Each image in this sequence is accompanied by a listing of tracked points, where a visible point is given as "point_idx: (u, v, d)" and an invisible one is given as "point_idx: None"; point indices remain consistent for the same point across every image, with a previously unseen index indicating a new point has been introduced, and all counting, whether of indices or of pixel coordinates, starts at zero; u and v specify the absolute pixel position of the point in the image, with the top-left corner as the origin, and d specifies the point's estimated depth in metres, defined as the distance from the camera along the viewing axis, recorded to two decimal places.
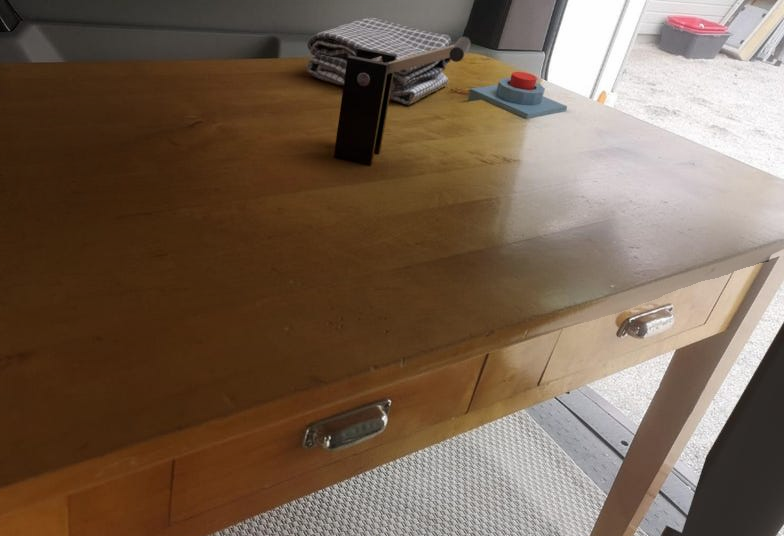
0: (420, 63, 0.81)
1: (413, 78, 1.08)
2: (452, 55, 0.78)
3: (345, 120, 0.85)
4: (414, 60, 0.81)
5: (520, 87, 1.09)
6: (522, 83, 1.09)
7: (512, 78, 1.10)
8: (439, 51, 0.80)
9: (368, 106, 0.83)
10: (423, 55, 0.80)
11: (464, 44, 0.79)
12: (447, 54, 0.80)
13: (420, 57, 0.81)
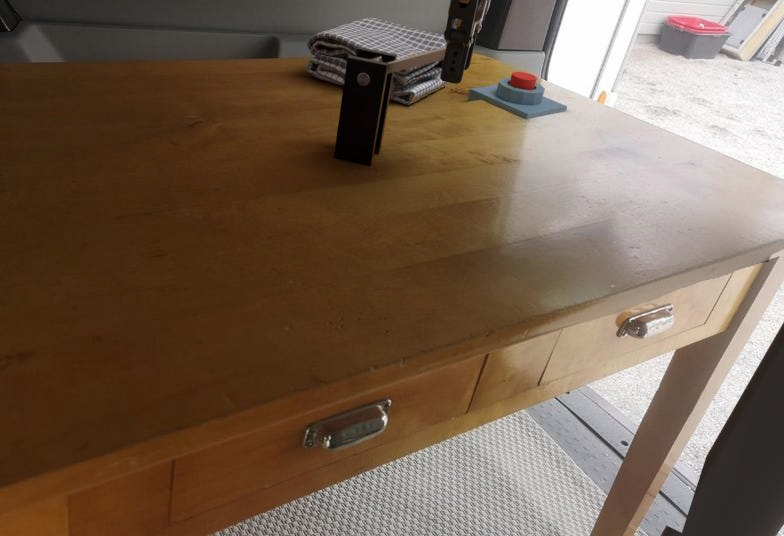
0: (420, 63, 0.81)
1: (413, 78, 1.08)
2: None
3: (345, 120, 0.85)
4: (414, 60, 0.81)
5: (520, 87, 1.09)
6: (522, 83, 1.09)
7: (512, 78, 1.10)
8: (439, 51, 0.80)
9: (368, 106, 0.83)
10: (423, 55, 0.80)
11: None
12: None
13: (420, 57, 0.81)
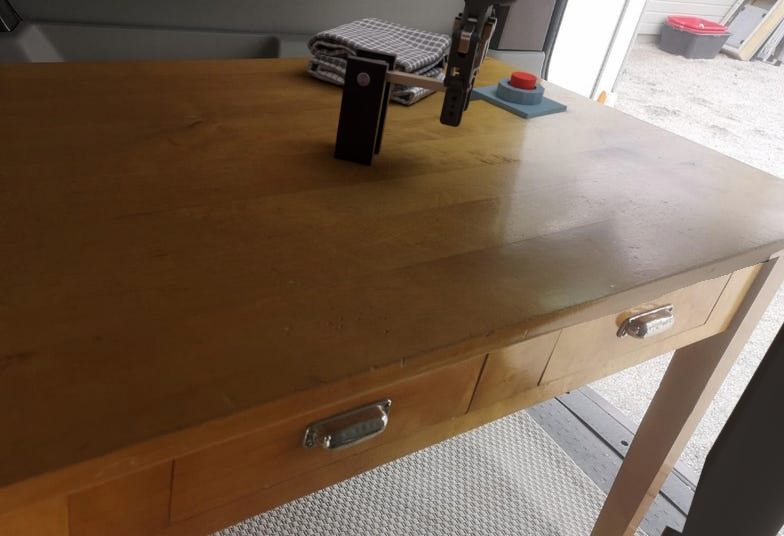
0: (419, 86, 0.82)
1: None
2: None
3: (345, 120, 0.85)
4: (416, 81, 0.82)
5: (520, 87, 1.09)
6: (522, 83, 1.09)
7: (512, 78, 1.10)
8: (441, 83, 0.81)
9: (368, 106, 0.83)
10: (425, 80, 0.82)
11: None
12: None
13: (422, 80, 0.82)
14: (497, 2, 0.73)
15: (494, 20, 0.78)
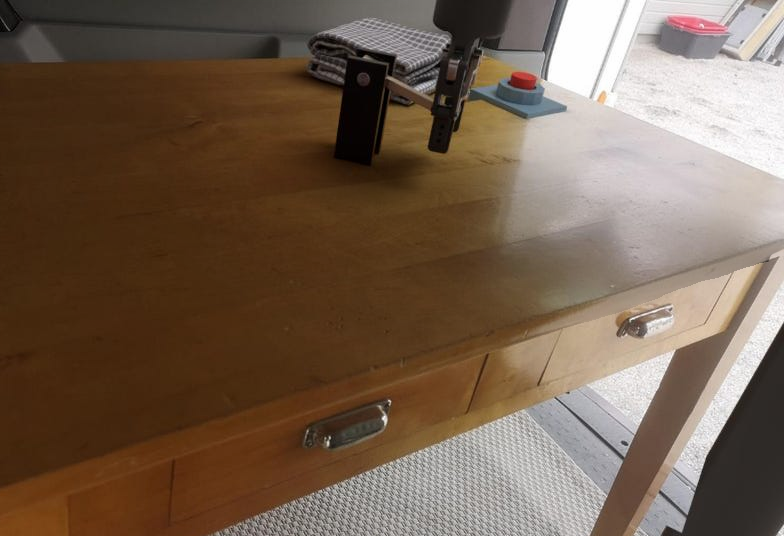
0: (414, 100, 0.83)
1: (413, 78, 1.08)
2: None
3: (345, 120, 0.85)
4: (411, 95, 0.83)
5: (520, 87, 1.09)
6: (522, 83, 1.09)
7: (512, 78, 1.10)
8: None
9: (368, 106, 0.83)
10: (421, 96, 0.83)
11: None
12: None
13: (418, 96, 0.83)
14: (483, 36, 0.75)
15: (481, 52, 0.80)
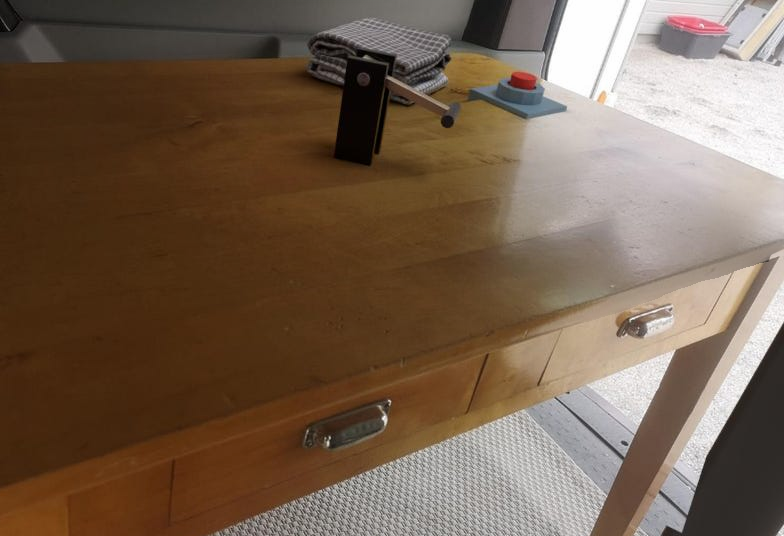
0: (414, 100, 0.83)
1: (413, 78, 1.08)
2: (443, 119, 0.81)
3: (345, 120, 0.85)
4: (411, 95, 0.83)
5: (520, 87, 1.09)
6: (522, 83, 1.09)
7: (512, 78, 1.10)
8: (435, 104, 0.83)
9: (368, 106, 0.83)
10: (421, 96, 0.83)
11: (457, 115, 0.83)
12: (439, 111, 0.83)
13: (418, 96, 0.83)
14: None
15: None
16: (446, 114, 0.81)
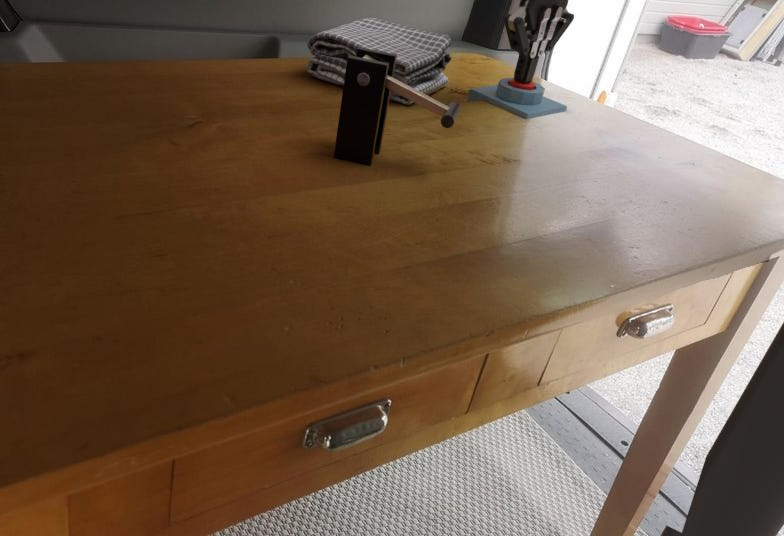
0: (414, 100, 0.83)
1: (413, 78, 1.08)
2: (443, 119, 0.81)
3: (345, 120, 0.85)
4: (411, 95, 0.83)
5: None
6: None
7: (510, 84, 1.10)
8: (435, 104, 0.83)
9: (368, 106, 0.83)
10: (421, 96, 0.83)
11: (457, 115, 0.83)
12: (439, 111, 0.83)
13: (418, 96, 0.83)
14: None
15: (559, 6, 1.04)
16: (446, 114, 0.81)
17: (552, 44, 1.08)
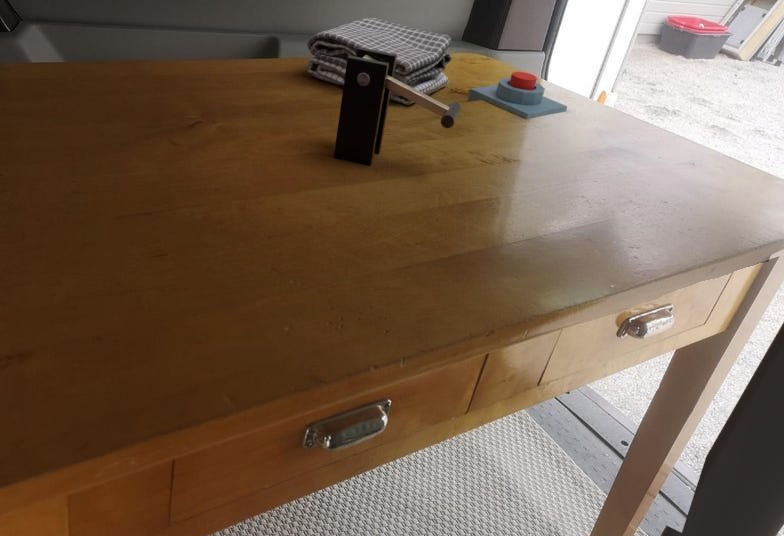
0: (414, 100, 0.83)
1: (413, 78, 1.08)
2: (443, 119, 0.81)
3: (345, 120, 0.85)
4: (411, 95, 0.83)
5: (520, 87, 1.09)
6: (522, 83, 1.09)
7: (512, 78, 1.10)
8: (435, 104, 0.83)
9: (368, 106, 0.83)
10: (421, 96, 0.83)
11: (457, 115, 0.83)
12: (439, 111, 0.83)
13: (418, 96, 0.83)
14: None
15: None
16: (446, 114, 0.81)
17: None
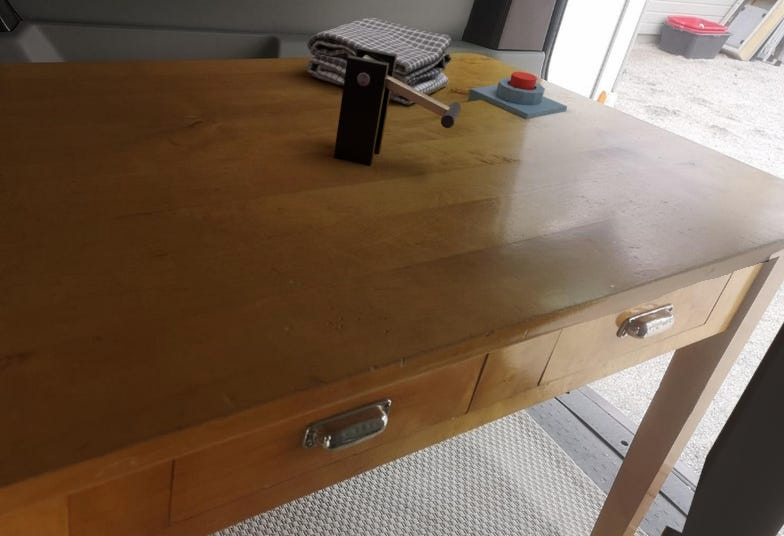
0: (414, 100, 0.83)
1: (413, 78, 1.08)
2: (443, 119, 0.81)
3: (345, 120, 0.85)
4: (411, 95, 0.83)
5: (520, 87, 1.09)
6: (522, 83, 1.09)
7: (512, 78, 1.10)
8: (435, 104, 0.83)
9: (368, 106, 0.83)
10: (421, 96, 0.83)
11: (457, 115, 0.83)
12: (439, 111, 0.83)
13: (418, 96, 0.83)
14: None
15: None
16: (446, 114, 0.81)
17: None
